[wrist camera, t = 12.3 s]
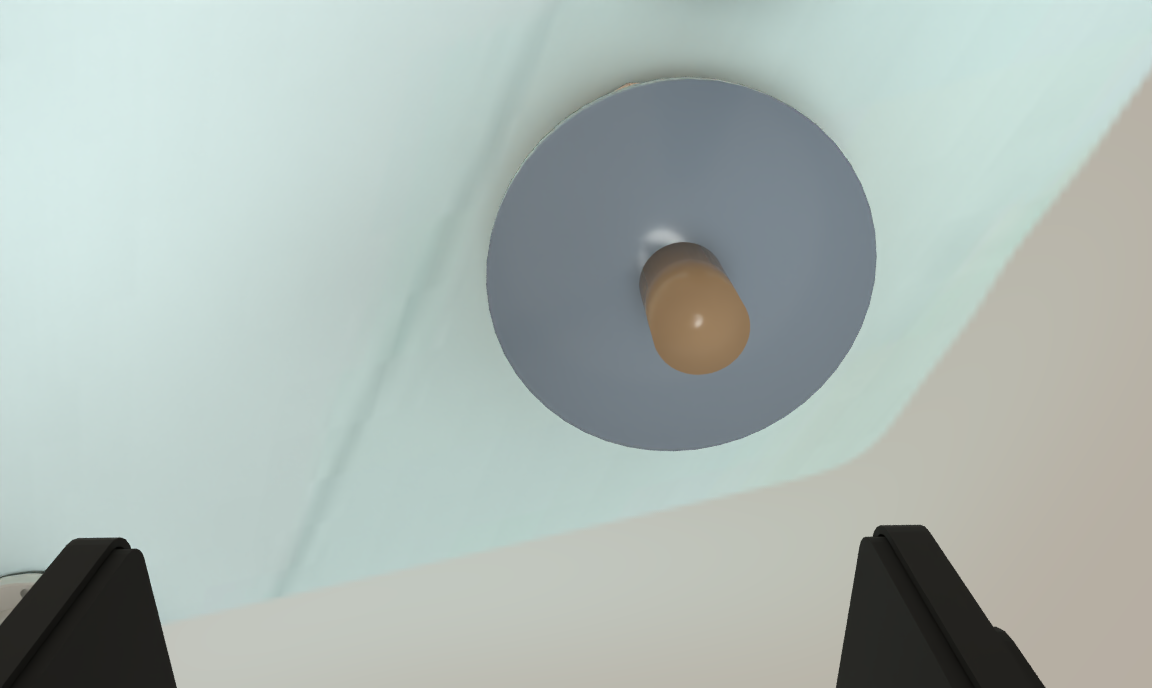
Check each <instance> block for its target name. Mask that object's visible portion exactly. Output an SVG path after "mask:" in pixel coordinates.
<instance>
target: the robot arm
mask: <svg viewBox="0 0 1152 688" xmlns="http://www.w3.org/2000/svg"><path fill="white" fill-rule="evenodd" d="M0 688H177V687H176V683H175V679H174V675H173V671H172V667H171V663H170V659H169V655H168V651H167V647H166V643H165V639H164V635H163V631H162V627H161V623H160V619H159V615H158V611H157V607H156V603H155V599H154V595H153V591H152V587H151V583H150V579H149V575H148V571H147V567H146V563H145V559H144V557H143V554H142V552H141V551H140V550H138V549H131V547H130V545H129V543H128V542H127V541H126V540H125V539H123V538H77V539H74V540H72V541H71V542H70V543H69V544H67V545H66V547H65V548H64V549H63V550H62V551H61V553H60V554H59V555H58V556H57V557H56V559H55V560H54V561H53V562H52V563H51V565H50V566H49V567H48V568H47V569H46V571H45V572H44V573H43V574H38V573H27V574H19V575H12V576H7V577H3V578H0ZM836 688H1045V687H1044V685H1043V684H1042V682H1041V681H1040V679H1039V678H1038V676H1037V675H1036V673H1035V672H1034V670H1033V669H1032V668H1031V666H1030V665H1029V663H1028V662H1027V660H1026V659H1025V657H1024V656H1023V654H1022V653H1021V651H1020V650H1019V649H1018V647H1017V646H1016V644H1015V643H1014V641H1013V640H1012V639H1011V638H1010V637H1009V636H1008V635H1007V633H1006V632H1005V631H1003V630H1001V629H999V628H997V627H993V626H992V624H991V623H990V621H989V620H988V618H987V617H986V616H985V614H984V613H983V611H982V610H981V608H980V607H979V605H978V603H977V602H976V600H975V599H974V597H973V596H972V594H971V593H970V592H969V590H968V589H967V587H966V586H965V584H964V583H963V581H962V580H961V578H960V577H959V575H958V574H957V572H956V571H955V569H954V568H953V566H952V565H951V563H950V562H949V560H948V559H947V557H946V556H945V554H944V553H943V551H942V550H941V548H940V547H939V545H938V544H937V542H936V541H935V539H934V538H933V536H932V535H931V533H930V532H929V531H928V529H926V527H925V526H922V525H880V526H878V527H877V528H876V529H875V531H874V534H873V537H864V538H863V539H862V541H861V543H860V547H859V553H858V559H857V565H856V571H855V578H854V583H853V589H852V595H851V601H850V608H849V613H848V619H847V625H846V631H845V637H844V643H843V649H842V655H841V661H840V667H839V673H838V679H837V685H836Z"/></svg>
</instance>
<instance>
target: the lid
mask: <svg viewBox="0 0 1152 688" xmlns="http://www.w3.org/2000/svg"><path fill="white" fill-rule="evenodd" d="M875 269H876V240H875V229H874V225H873V220H872V215H871V210H870V206H869V204H868V201H867V198H866V195H865V193H864V190H863V187H862V185H861V183H860V181H859V179H858V177H857V175H856V173H855V172H854V170H853V168H852V166H851V164H850V163H849V161H848V160H847V159H846V157H845V156H844V155H843V153H842V152H841V151H840V149H839V148H838V147H837V145H836V144H835V143H834V142H833V141H832V140H831V139H830V138H829V137H828V136H827V135H826V134H825V133H824V132H823V131H822V130H821V129H820V128H819V127H818V126H817V125H816V124H815V123H813V122H812V121H811V120H809V119H808V118H807V117H805V116H804V115H802V114H801V113H800V112H798V111H797V110H796V109H794V108H792V107H791V106H789V105H787V104H785V103H783V102H781V101H780V100H778V99H776V98H774V97H772V96H770V95H768V94H766V93H764V92H762V91H759V90H756V89H753V88H750V87H747V86H745V85H742V84H738V83H734V82H729V81H724V80H719V79H714V78H698V77H678V78H665V79H657V80H652V81H648V82H643V83H638V84H634V85H630V86H628V87H625V88H622V89H619V90H617V91H614V92H611V93H608V94H606V95H604V96H602V97H600V98H598V99H596V100H594V101H592V102H590V103H589V104H587V105H585V106H583V107H581V108H580V109H578V110H577V111H576V112H574V113H573V114H571V115H570V116H568V117H567V118H566V119H564V120H563V121H561V122H560V123H559V124H558V125H557V126H556V127H555V128H553V129H552V130H551V131H550V132H549V133H548V134H547V135H546V136H545V137H544V138H543V139H541V141H540V142H539V143H538V144H537V145H536V146H535V148H534V149H533V150H532V151H531V152H530V154H529V155H528V156H527V157H526V158H525V160H524V161H523V163H522V164H521V166H520V167H519V169H518V171H517V172H516V174H515V175H514V177H513V178H512V180H511V182H510V184H509V186H508V188H507V190H506V192H505V195H504V197H503V199H502V201H501V203H500V206H499V209H498V212H497V216H496V219H495V222H494V226H493V229H492V234H491V239H490V245H489V252H488V258H487V283H486V286H487V295H488V303H489V310H490V314H491V318H492V322H493V325H494V329H495V333H496V335H497V338H498V340H499V342H500V345H501V347H502V349H503V352H504V354H505V356H506V357H507V359H508V361H509V363H510V364H511V366H512V368H513V369H514V371H515V373H516V374H517V375H518V377H519V378H520V379H521V380H522V382H523V383H524V384H525V386H526V387H527V388H528V389H529V391H530V392H531V393H532V394H533V395H534V396H535V397H536V398H537V399H538V400H540V401H541V402H542V403H543V404H544V405H545V406H546V407H547V408H548V409H550V410H551V411H552V412H554V413H555V414H556V415H558V416H559V417H560V418H562V419H563V420H564V421H566V422H568V423H569V424H571V425H573V426H575V427H577V428H578V429H580V430H582V431H584V432H586V433H588V434H591V435H593V436H596V437H598V438H600V439H603V440H605V441H609V442H612V443H616V444H620V445H623V446H627V447H633V448H639V449H646V450H657V451H682V450H695V449H701V448H707V447H712V446H717V445H721V444H725V443H728V442H731V441H734V440H738V439H741V438H744V437H746V436H748V435H751V434H753V433H755V432H758V431H760V430H762V429H764V428H766V427H768V426H770V425H771V424H773V423H775V422H777V421H778V420H780V419H782V418H784V417H785V416H787V415H788V414H789V413H791V412H792V411H793V410H795V409H796V408H797V407H799V406H800V405H802V404H803V403H804V402H805V401H806V400H808V399H809V398H810V397H811V396H812V395H813V394H814V393H815V392H816V391H817V390H818V389H819V388H820V387H822V385H823V384H824V383H825V382H826V381H827V380H828V378H829V377H830V376H831V375H832V374H833V373H834V371H835V370H836V369H837V368H838V366H839V365H840V363H841V362H842V360H843V359H844V357H845V356H846V354H847V353H848V351H849V350H850V348H851V347H852V345H853V343H854V341H855V339H856V337H857V335H858V333H859V331H860V329H861V327H862V324H863V321H864V318H865V315H866V313H867V310H868V307H869V304H870V300H871V295H872V290H873V286H874V281H875Z"/></svg>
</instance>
